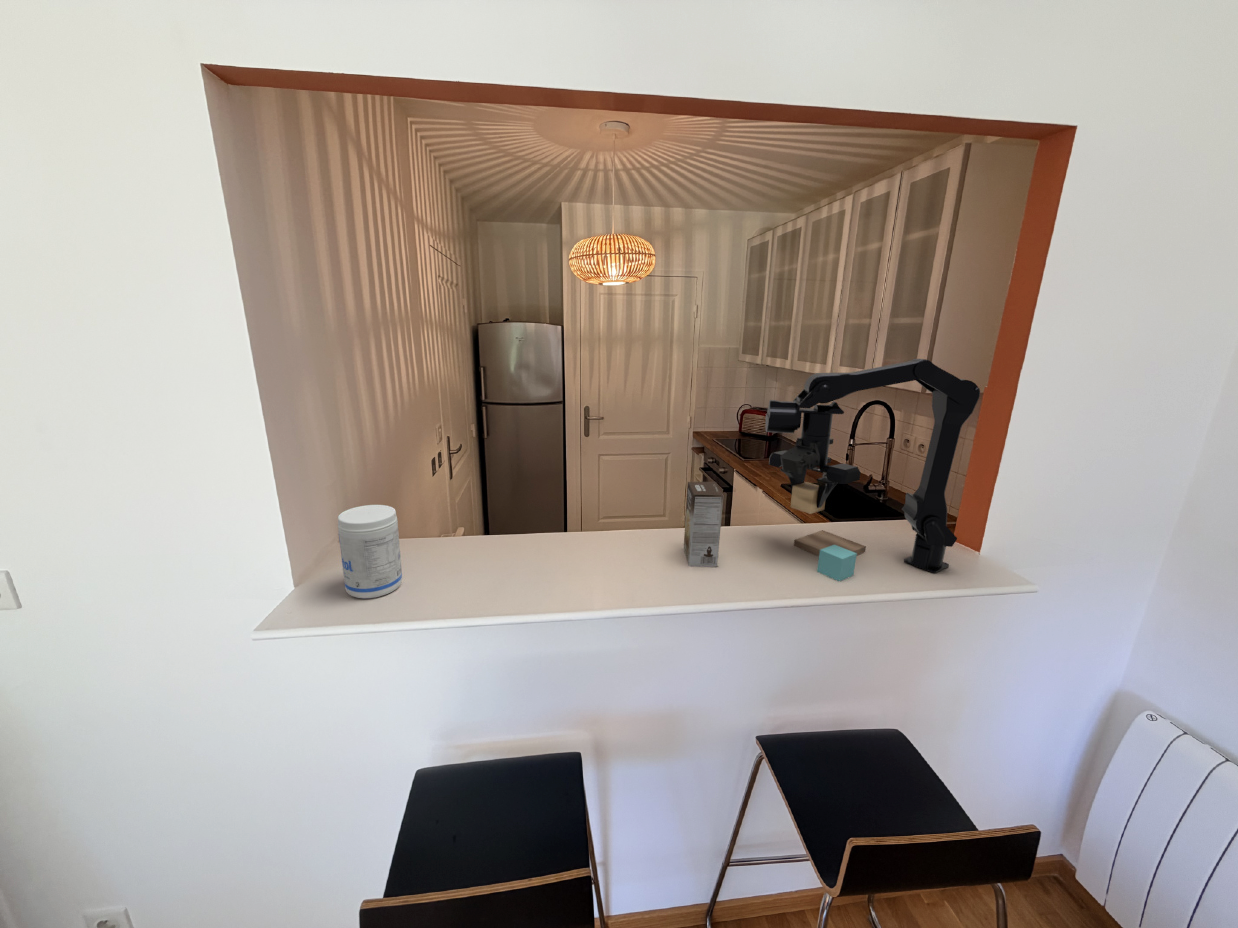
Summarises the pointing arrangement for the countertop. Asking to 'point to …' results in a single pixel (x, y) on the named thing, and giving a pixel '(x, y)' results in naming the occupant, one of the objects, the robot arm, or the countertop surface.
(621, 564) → the countertop surface
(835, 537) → the walnut board
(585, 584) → the countertop surface
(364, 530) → the supplement tub
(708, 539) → the coffee box
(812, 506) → the oak block
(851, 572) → the teal block
